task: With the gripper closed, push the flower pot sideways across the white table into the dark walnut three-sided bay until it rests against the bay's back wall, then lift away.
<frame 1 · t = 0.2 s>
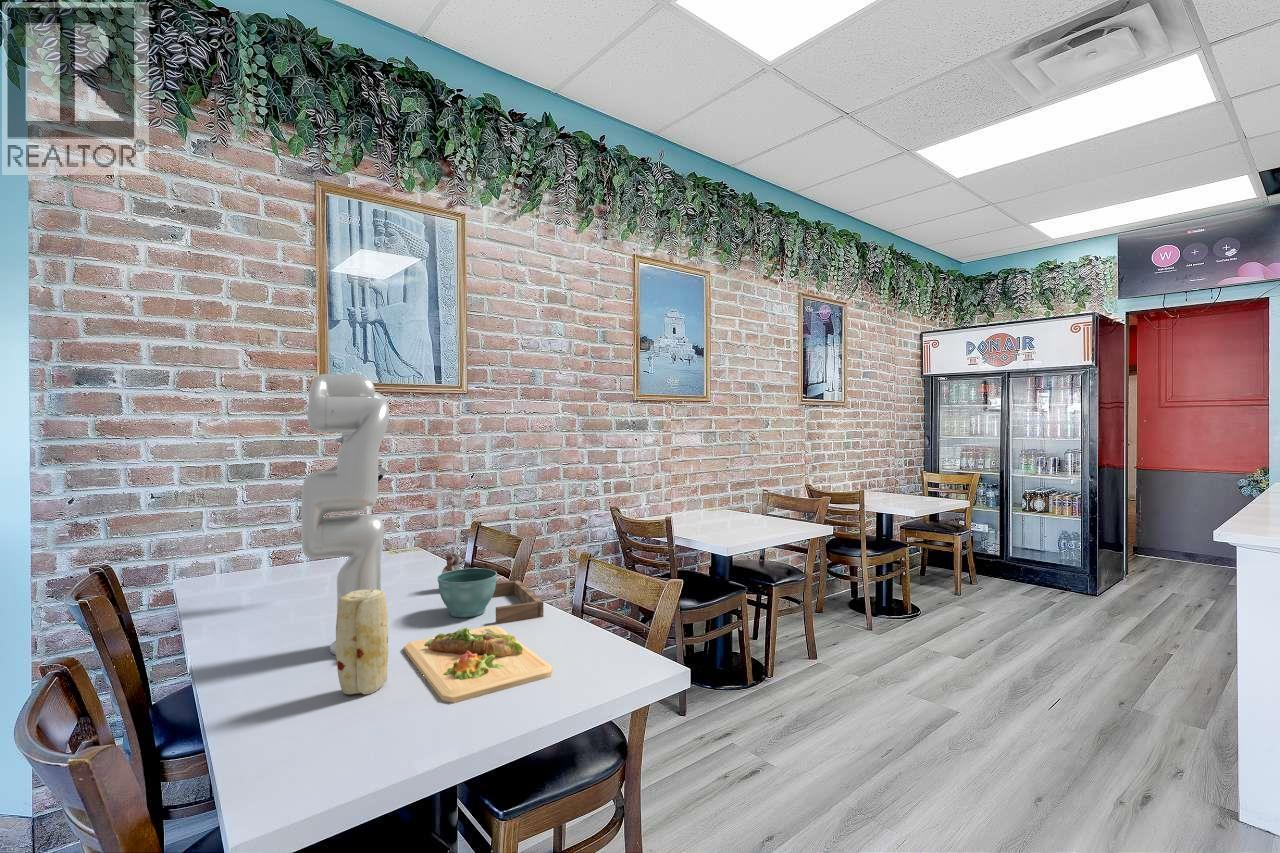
hand: (355, 497, 181), 31 cm above the table, fingers open, 9 cm apart
flower pot: (467, 613, 167), on the table
food model: (363, 691, 119), on the table
cutting board: (475, 664, 133), on the table
figurine: (452, 590, 190), on the table
walnut bay: (506, 607, 172), on the table
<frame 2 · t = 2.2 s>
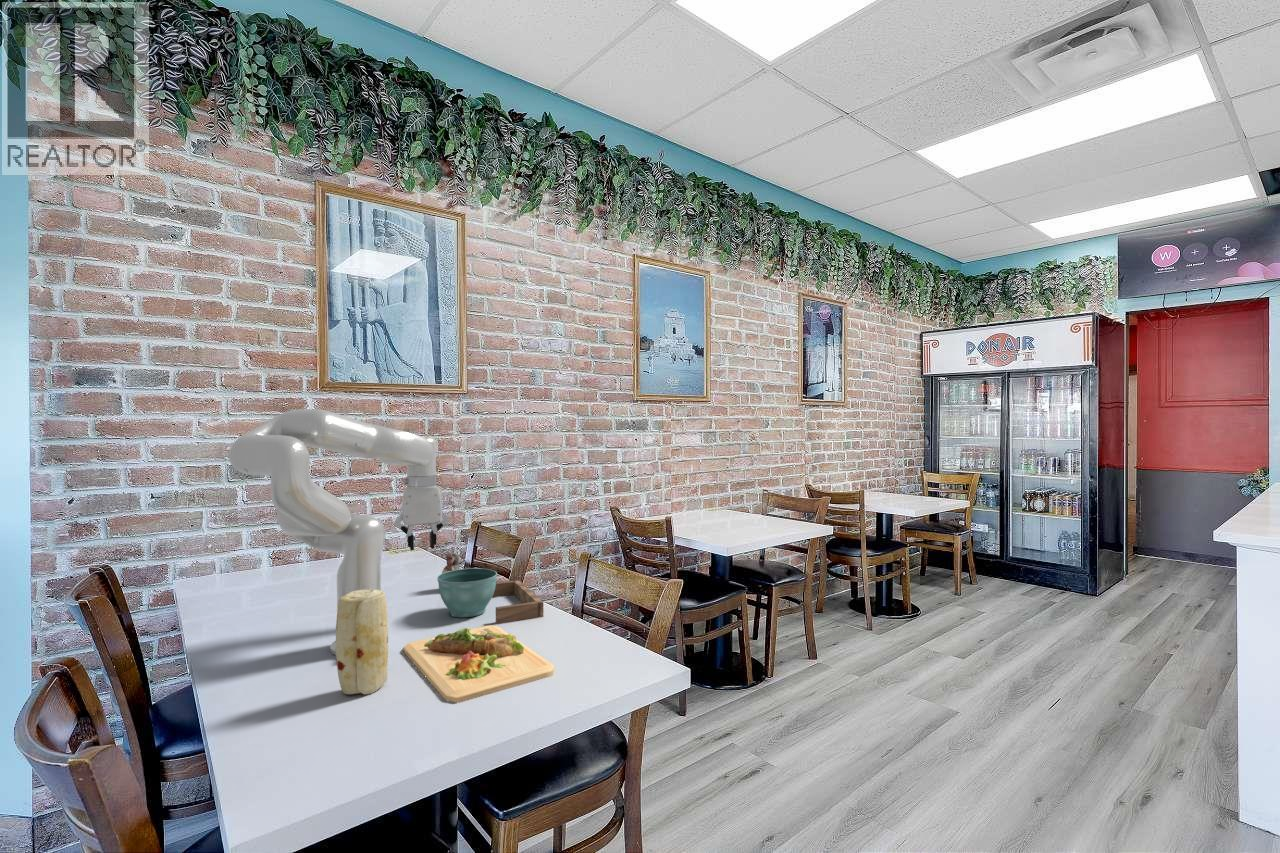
hand: (422, 547, 162), 19 cm above the table, fingers open, 4 cm apart
nothing on the table moved.
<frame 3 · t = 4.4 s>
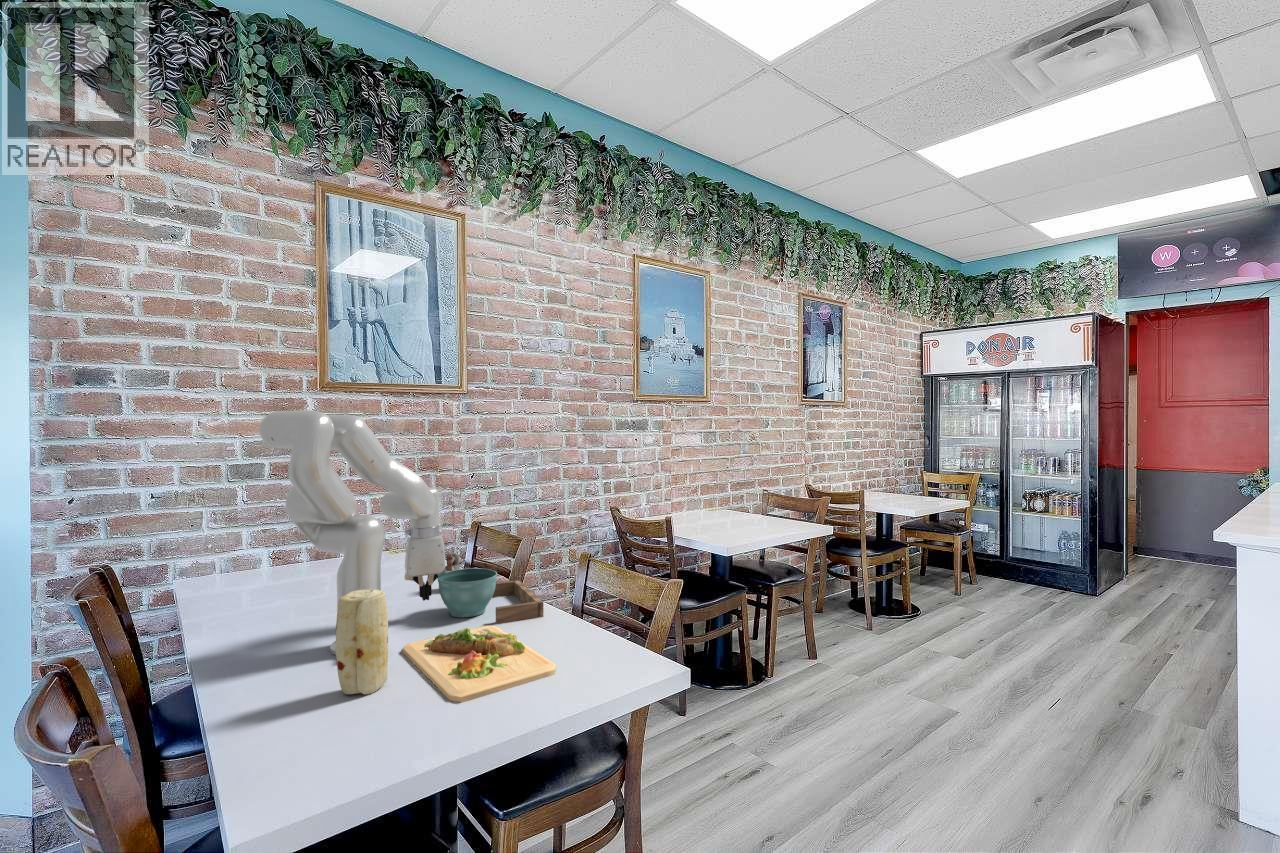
hand: (425, 598, 163), 5 cm above the table, fingers closed
flower pot: (467, 613, 167), on the table, touching gripper
everything else where it was.
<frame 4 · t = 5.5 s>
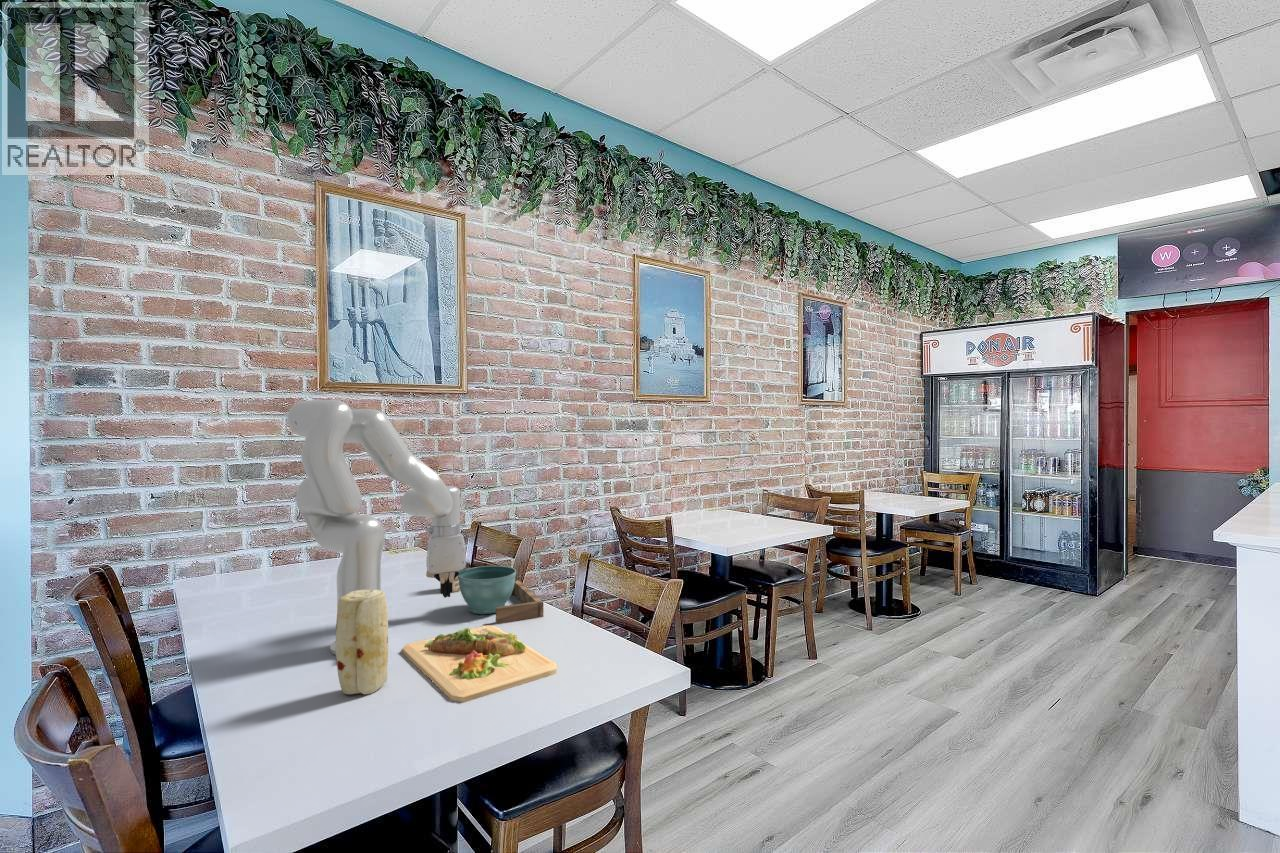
hand: (446, 595, 165), 5 cm above the table, fingers closed
flower pot: (487, 610, 170), on the table, touching gripper
everything else where it was.
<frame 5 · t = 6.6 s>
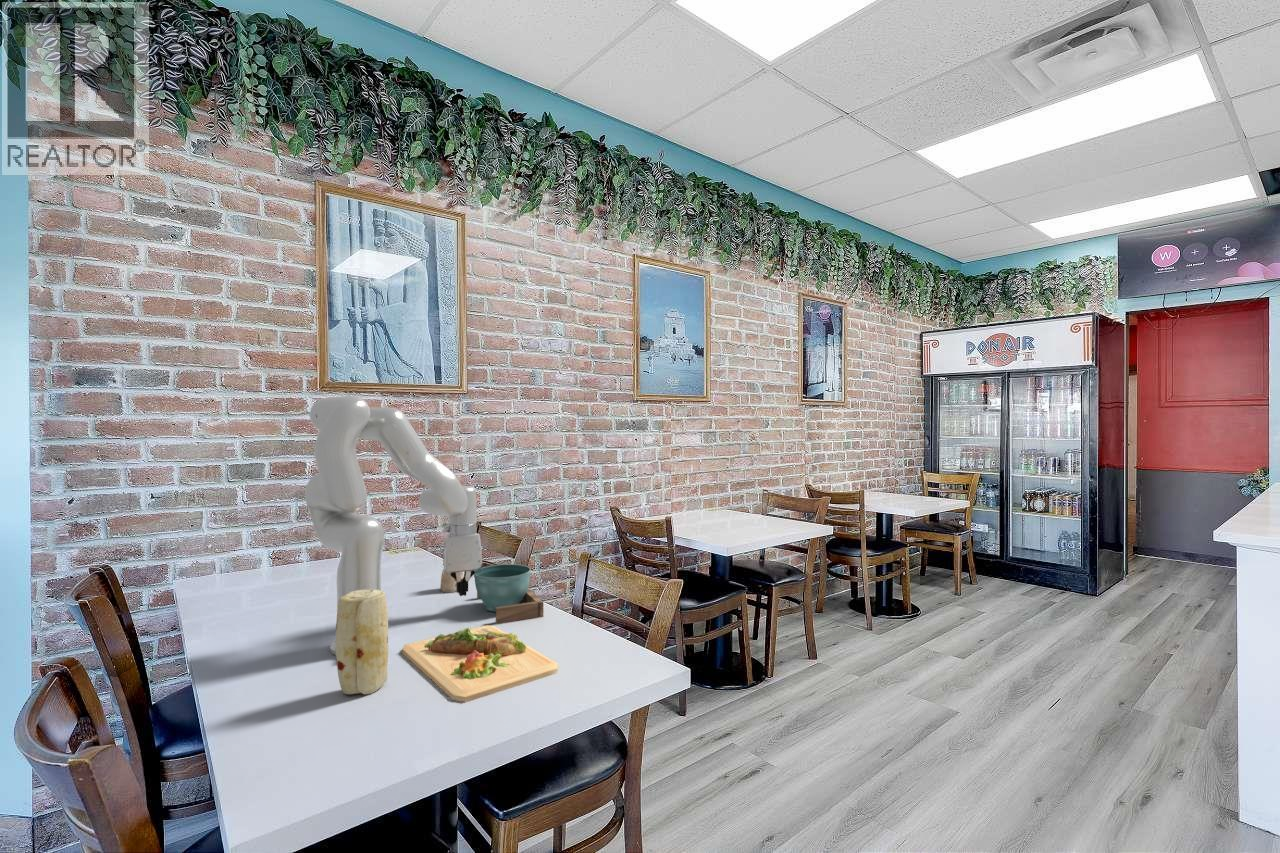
hand: (462, 594, 167), 5 cm above the table, fingers closed
flower pot: (502, 608, 172), on the table, touching gripper, walnut bay
everything else where it was.
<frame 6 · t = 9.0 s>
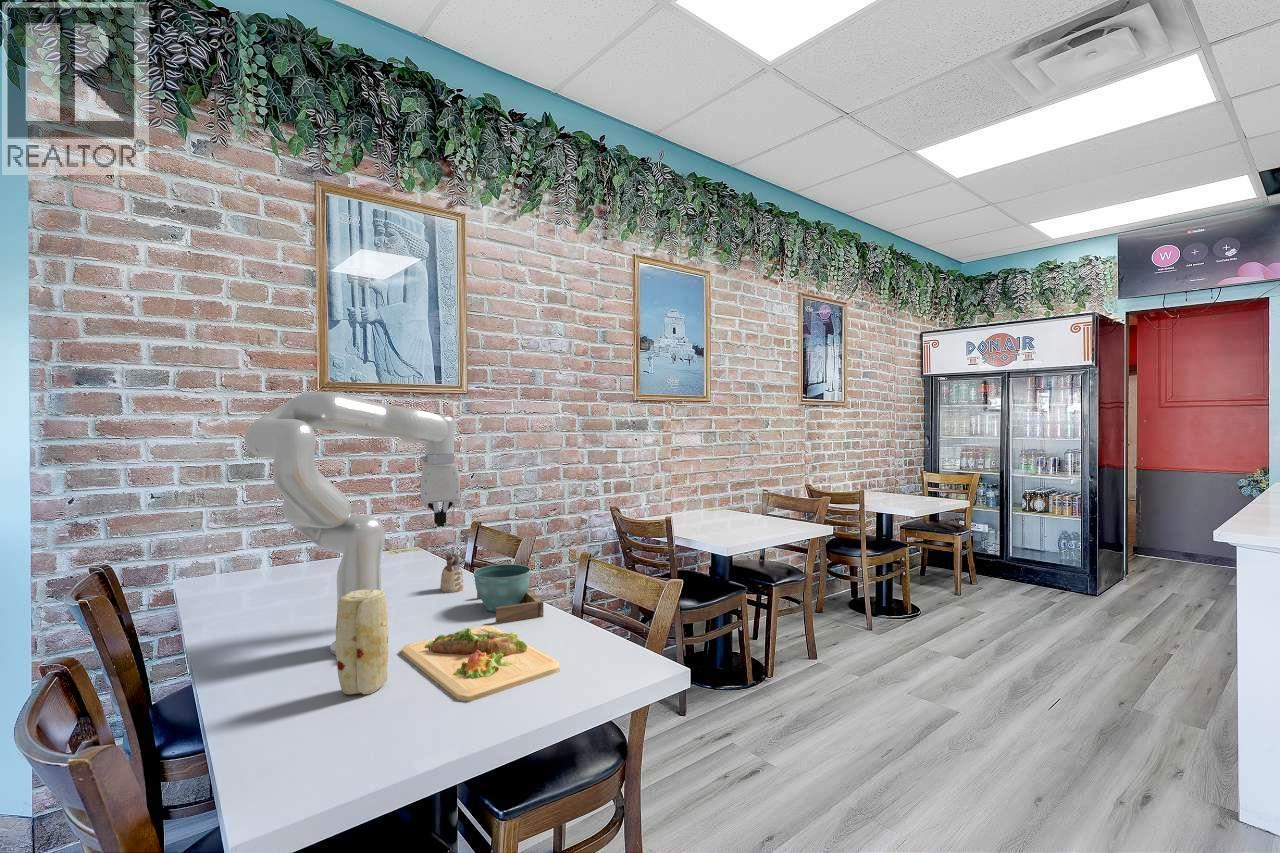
hand: (440, 526, 164), 25 cm above the table, fingers closed
flower pot: (502, 608, 172), on the table
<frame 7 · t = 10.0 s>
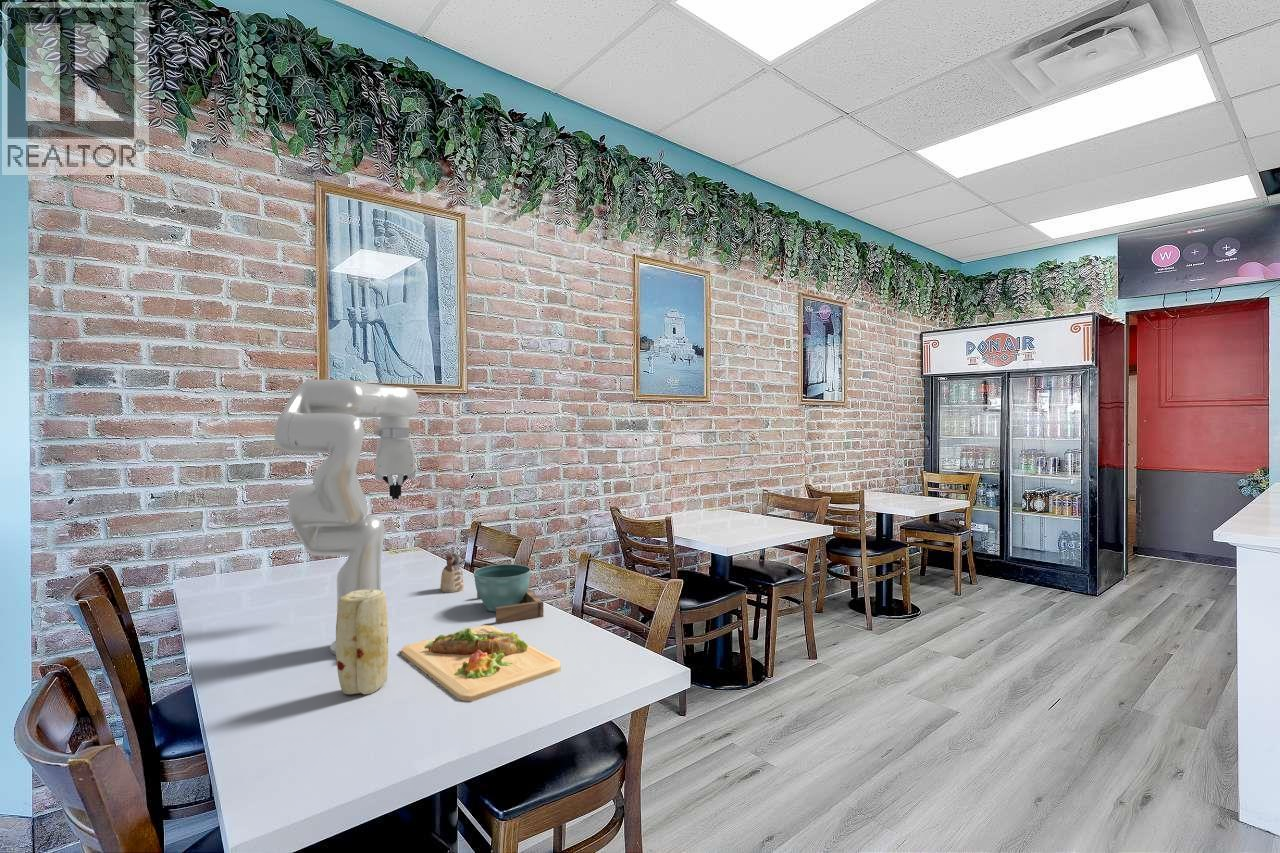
hand: (395, 498, 168), 32 cm above the table, fingers closed
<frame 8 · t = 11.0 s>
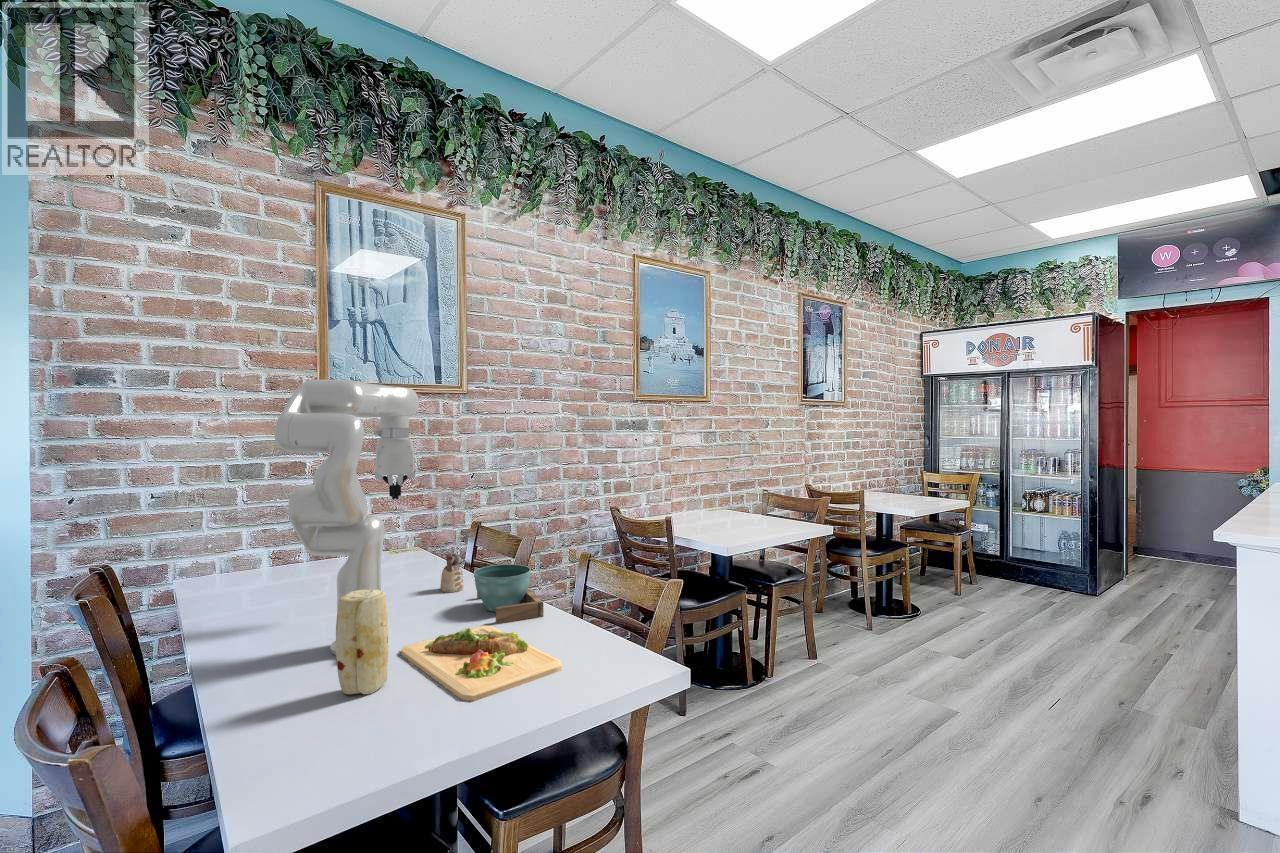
hand: (395, 498, 168), 32 cm above the table, fingers closed
at the end: flower pot inside the target area (1.2 cm from its centre), on the table; flower pot tilted 0°; flower pot moved 10.0 cm from its start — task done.
